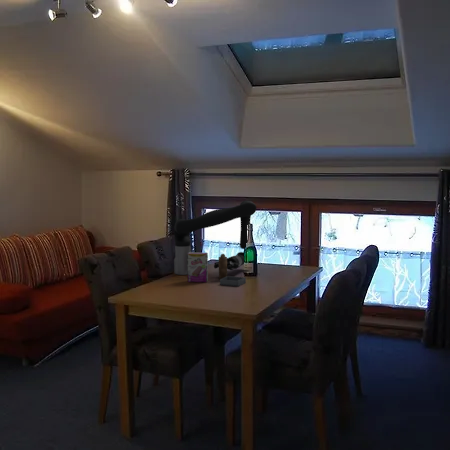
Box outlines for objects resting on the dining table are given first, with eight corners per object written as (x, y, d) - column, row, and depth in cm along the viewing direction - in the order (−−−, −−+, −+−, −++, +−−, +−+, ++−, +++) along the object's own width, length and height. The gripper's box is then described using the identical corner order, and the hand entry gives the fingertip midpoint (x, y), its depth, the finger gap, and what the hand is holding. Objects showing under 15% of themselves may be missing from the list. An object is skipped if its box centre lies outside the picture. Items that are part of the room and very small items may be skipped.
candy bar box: (187, 282, 292) (186, 253, 290) (188, 280, 297) (188, 252, 295) (207, 282, 291) (206, 253, 289) (208, 280, 296) (207, 252, 294)
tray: (220, 284, 285) (219, 279, 284) (227, 281, 293) (227, 276, 293) (238, 286, 280) (238, 281, 279) (245, 282, 289) (245, 277, 288)
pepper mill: (217, 280, 297) (217, 254, 295) (221, 278, 301) (220, 252, 300) (225, 280, 295) (224, 254, 293) (228, 279, 299) (228, 253, 298)
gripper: (222, 255, 313) (210, 259, 298) (244, 257, 307) (232, 261, 292) (223, 267, 314) (210, 272, 299) (244, 269, 307) (232, 274, 293)
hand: (221, 267), depth 296 cm, fingers open, 8 cm apart
